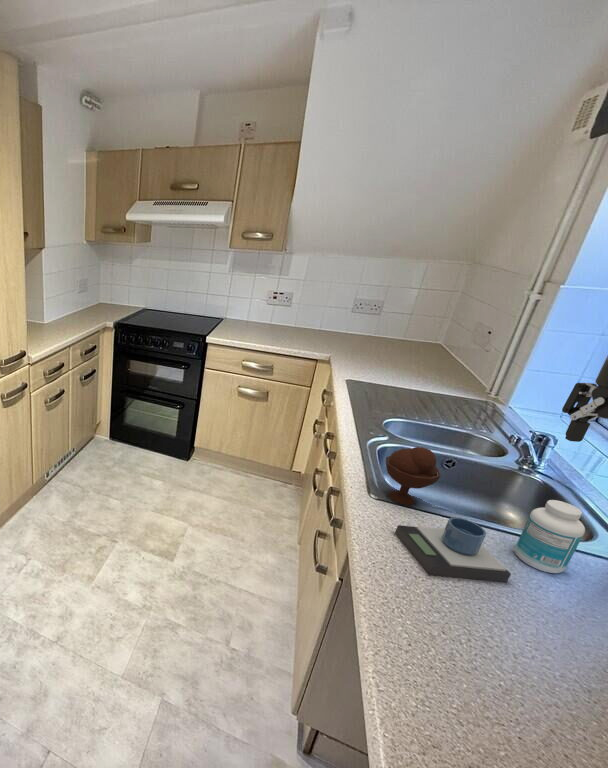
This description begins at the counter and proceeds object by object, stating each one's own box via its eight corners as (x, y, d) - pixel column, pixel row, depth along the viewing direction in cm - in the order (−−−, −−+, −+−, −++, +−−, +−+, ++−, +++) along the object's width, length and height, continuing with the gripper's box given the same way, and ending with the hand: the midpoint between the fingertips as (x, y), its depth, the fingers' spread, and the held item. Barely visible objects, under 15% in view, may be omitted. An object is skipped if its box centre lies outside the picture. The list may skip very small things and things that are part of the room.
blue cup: (463, 538, 87) (472, 518, 85) (484, 558, 82) (494, 538, 80) (434, 535, 88) (441, 516, 86) (453, 555, 82) (461, 535, 80)
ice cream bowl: (424, 493, 106) (442, 442, 101) (430, 518, 97) (451, 463, 92) (375, 481, 111) (391, 431, 106) (377, 503, 102) (394, 450, 97)
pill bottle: (534, 547, 89) (561, 494, 84) (574, 574, 82) (605, 518, 77) (502, 548, 88) (527, 495, 83) (540, 576, 81) (569, 520, 76)
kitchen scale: (462, 539, 91) (466, 529, 90) (507, 582, 79) (512, 571, 78) (394, 533, 92) (398, 523, 91) (429, 575, 81) (433, 564, 80)
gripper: (729, 379, 58) (670, 477, 64) (621, 351, 71) (580, 434, 77) (669, 376, 59) (616, 473, 64) (573, 349, 72) (536, 431, 78)
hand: (596, 452), depth 71 cm, fingers open, 8 cm apart
